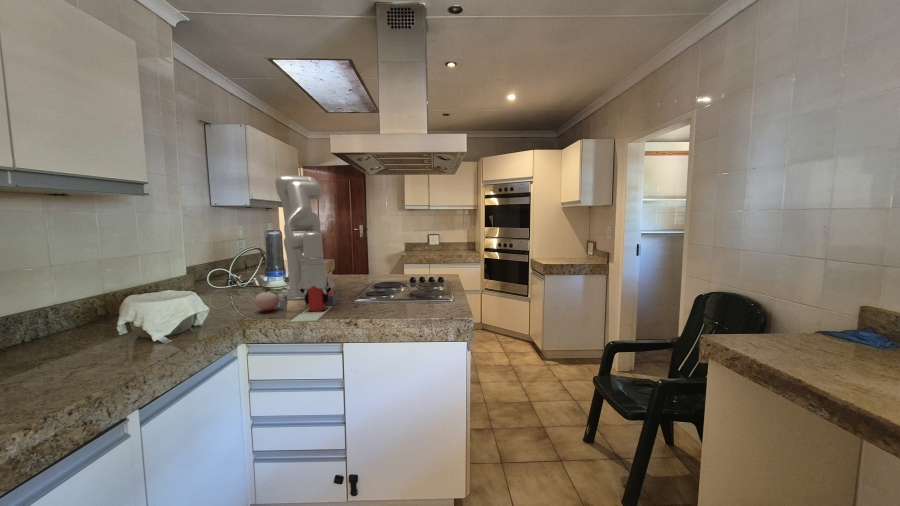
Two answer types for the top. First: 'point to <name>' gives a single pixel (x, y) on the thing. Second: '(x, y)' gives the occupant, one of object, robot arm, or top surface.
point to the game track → (316, 315)
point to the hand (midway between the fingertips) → (317, 302)
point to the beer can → (316, 299)
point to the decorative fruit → (267, 300)
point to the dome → (330, 292)
